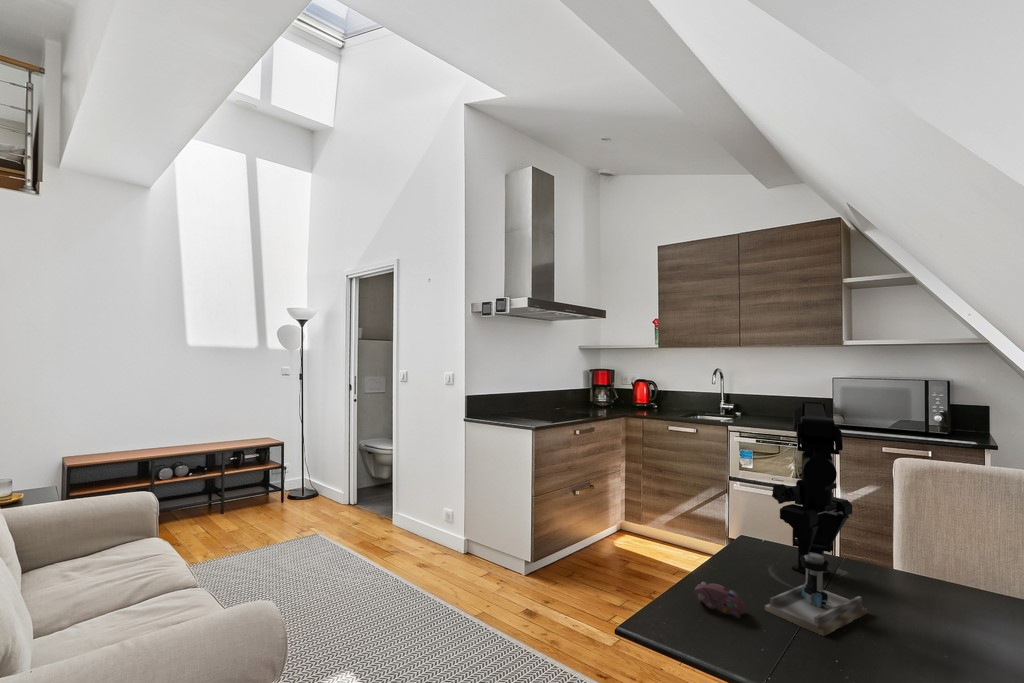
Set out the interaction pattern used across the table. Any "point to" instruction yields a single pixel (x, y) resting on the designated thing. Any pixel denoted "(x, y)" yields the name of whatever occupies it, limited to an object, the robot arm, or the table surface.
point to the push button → (814, 579)
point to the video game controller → (719, 598)
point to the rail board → (816, 611)
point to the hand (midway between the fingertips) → (816, 550)
